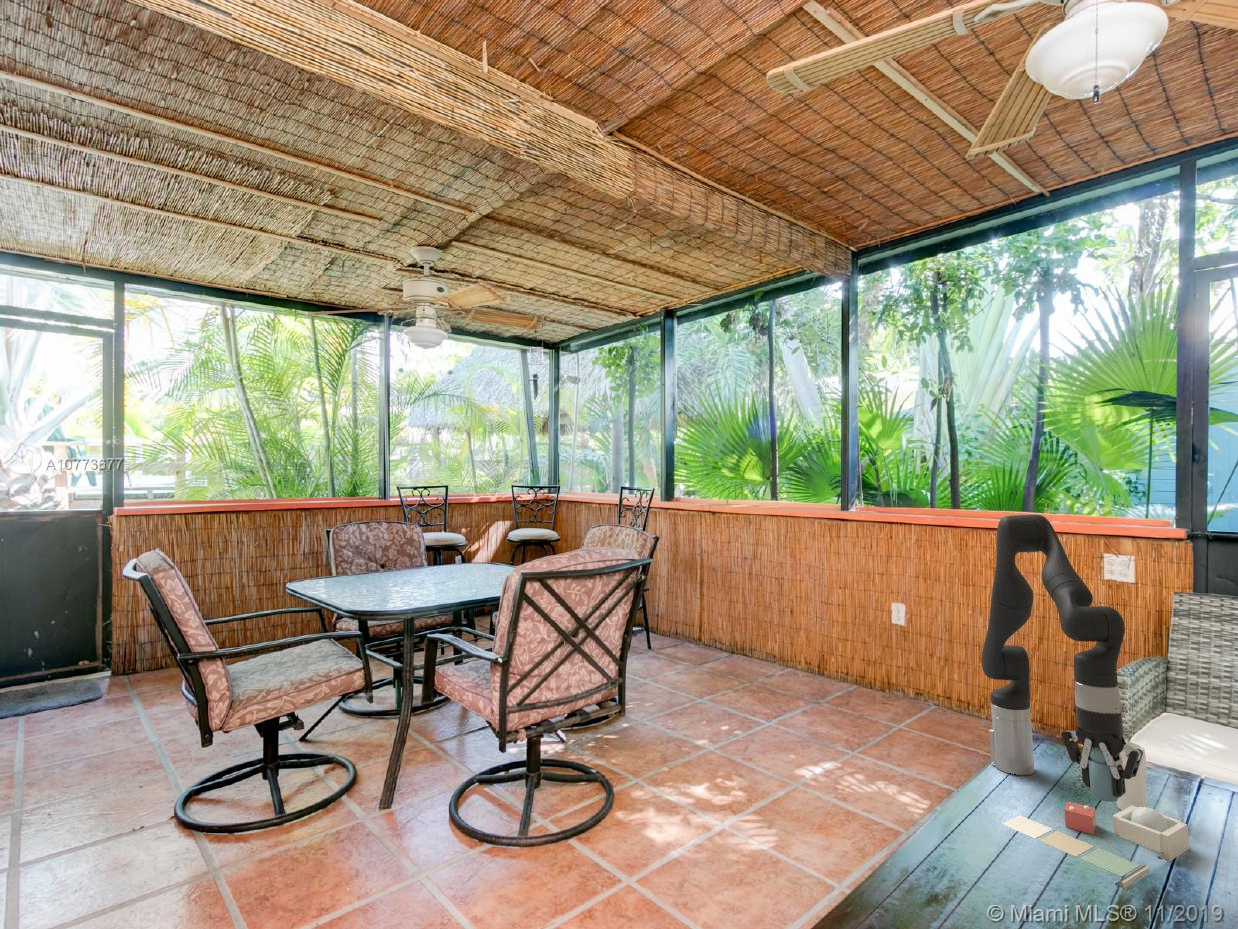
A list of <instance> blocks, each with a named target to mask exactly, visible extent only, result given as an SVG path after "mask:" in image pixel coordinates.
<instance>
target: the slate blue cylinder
mask: <svg viewBox="0 0 1238 929" xmlns="http://www.w3.org/2000/svg"><path fill="white" fill-rule="evenodd" d="M1090 758H1091V759H1088V764H1089V778H1090V788H1089V789H1090V790H1089V791H1090V795H1091V796H1092V797H1093V798H1095V799H1097V800H1099V801H1103V802H1110V803H1114V802H1115V803H1116V802H1117V801H1118V798H1117V797H1114V796H1113V786H1112V778H1113V774H1112V772H1111V769H1110V767H1109V766H1108V765H1107V763H1106V760H1105V757H1104V755H1103V752H1102V751H1101V749H1100V748H1097V747H1093V748H1092V749H1091V751H1090ZM1113 759H1114V758H1113Z"/></svg>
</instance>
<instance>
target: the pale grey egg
mask: <svg viewBox="0 0 1238 929" xmlns="http://www.w3.org/2000/svg"><path fill="white" fill-rule="evenodd" d="M1161 814H1162V813H1160V812H1159V811H1158V810H1156V809H1154V808H1151V807H1149V806H1146V807H1139V808H1137V809H1135V810H1134V811H1133V813H1132V816H1131V821H1132V822H1135V823H1137V824H1140V825H1143V826H1146V827H1148V828H1151V829H1154V830H1156V831H1159V832H1164V831H1166V830H1167V829H1168V825H1167V822H1166V820H1165V818H1164V817H1163V816H1162V815H1163V814H1162V815H1161Z"/></svg>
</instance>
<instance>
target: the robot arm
mask: <svg viewBox="0 0 1238 929" xmlns="http://www.w3.org/2000/svg"><path fill="white" fill-rule="evenodd" d="M1032 552H1033V553H1037V552H1041V553H1043V554H1044V555H1045V557H1046V558H1045V562H1044V563H1043V567H1042V569H1041V580H1042V581H1041V582H1042V584H1043V587H1044V588H1045V591H1046V592H1047V593H1048V595H1049V596H1050V598H1051V599H1052V601H1053V602H1054V604H1055V606H1056V610H1057V613H1058V617H1059V622H1060V627H1061V631H1062V632H1063V634H1065V636H1067V637H1068V638H1069V639H1071V640H1072V641H1075V642H1084V643H1085V642H1087V643H1088V642H1094V643H1095V645H1094V646H1093V648H1091V649H1088V650H1084V651H1080V652H1077V653H1075V654H1074V657H1073V669H1074V670H1073V671H1074V672H1073V673H1074V689H1073V690H1074V704H1075V719H1076V726H1077V728H1076V730H1072V729H1070V728H1069V729H1066V730H1064V731H1062V732H1061V736H1062V739H1063V743H1064V745H1065V748H1066V750H1067V751H1066V752H1067V754H1068V756H1069V759H1070V761H1071V762H1073V763H1077V764H1078V765H1079V766H1080V767H1081V777H1082V780H1081V781H1082V782H1083V783H1084V784H1085V787H1086V788H1088V789H1090V778H1089V764H1088V759H1091V758H1090V751H1091V749H1092V748H1093V747H1097V748H1100V749H1101V751H1102V752H1103V755H1104V757H1105V760H1106V763H1107V765H1108V766H1109V767H1110V769H1111V772H1112V774H1113V778H1112V786H1113V796H1114V797H1117V798H1119V797H1121V796H1122V795H1124V794H1125V792H1126V790H1125V779H1131V778H1132V777H1135V776H1136V774H1137V771H1138V768H1139V765H1140V762H1141V758H1142V755H1143V752H1142V750H1141V749H1134V748H1132V747H1130V746H1128V745H1127V744H1126V742H1125V741H1126V740H1125V739H1124V735H1123V734H1124V729H1123V728H1124V727H1123V716H1122V715H1123V714H1122V708H1123V706H1122V702H1121V694H1120V691H1119V690H1120V689H1119V684H1118V683H1119V682H1118V672H1117V671H1118V669H1117V665H1118V661H1119V660H1118V659H1119V656H1120V652H1121V651H1120V650H1121V647H1122V645H1123V640H1124V637H1125V633H1126V631H1125V630H1126V625H1125V621H1124V618H1123V617H1122V615H1121V613H1120V612H1119V611H1118V610H1116V609H1115V608H1114V607H1111V606H1102V605H1100V606H1098V605H1097V606H1094V605H1092V604H1093V600H1094V596H1093V593H1092V592H1091V590H1090V589H1089V587H1088V586H1087V585H1086V583H1085V581H1083V579H1082V578H1081V577H1080V576H1079V574H1078V573H1077V571H1076V570H1075V569H1074V567H1073V565H1072V563H1071V562H1070V559H1069V557H1068V555H1067V553H1066V551H1065V549H1064V546H1063V545H1062V543H1061V541H1060V538H1059V537H1058V535H1057V533H1056V531H1055V529H1054V526H1053V525H1052V524H1051V522H1050V521H1049V519H1048V518H1046V516H1044V515H1042V514H1021V515H1020V514H1019V515H1006V516H1003V517H1001V518H1000V520H999V521H998V524H997V530H996V553H995V554H996V556H995V557H996V558H995V559H996V560H995V570H994V571H995V572H994V578H993V579H994V580H993V584H992V590H991V598H990V605H989V606H990V607H989V616H988V617H989V619H988V626H987V631H986V635H985V639H984V643H983V647H982V652H981V668H982V672H983V674H984V675H985V676H986V677H987V678H988V679H992V680H998V681H1001V680H1002V681H1010V682H1009V683H1008V684H1006V685H1005V686H1003V687H1000V688H997V689H994V690H992V691H991V693H990V708H991V710H990V711H991V722H992V724H991V725H992V728H991V729H990V730H988V732H989V747H990V762H991V763H992V762H993V761H994V763H993V764H995V765H993V764H992V766H994V767H995V768H996V769H998V770H1000V771H1001V772H1003V773H1007V774H1010V773H1011V775H1014V774H1016V775H1015V776H1030V775H1033V774H1034V773H1035V759H1034V747H1033V746H1034V745H1033V730H1032V718H1031V717H1032V716H1031V715H1032V714H1031V702H1030V701H1031V683H1030V682H1031V669H1030V668H1031V667H1030V666H1031V665H1030V658H1029V656H1028V655H1029V654H1028V652H1027V651H1026V649H1025V648H1024V647H1023V646H1021V645H1014V644H1012V645H1011V644H1006V642H1007V641H1008V640H1009V639H1010V638H1011V637H1012V636H1013V635H1015V633H1016V632H1017V631H1019V630H1020V629H1021V628H1022V627H1024V625H1026V623H1027V622H1028V620H1029V619H1030V617H1031V615H1032V611H1033V605H1034V592H1033V589H1032V587H1031V585H1030V583H1029V582H1028V581H1027V580H1026V578H1025V577H1024V575H1022V572H1020V570H1019V569H1018V567H1017V565H1016V556H1017V554H1018V553H1032ZM1091 605H1092V606H1091ZM1078 740H1079V742H1080V743H1081V745H1083V749H1082V750H1081V749H1080V746H1079V743H1078ZM1123 750H1124V751H1125V753H1126V754H1125V755H1126V757H1127V758H1128V760H1127V763H1126V766H1125V770H1124V767H1123V765H1122V763H1123V761H1122V758H1121V756H1120V753H1121V752H1122V751H1123ZM1113 758H1114V759H1113Z"/></svg>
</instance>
